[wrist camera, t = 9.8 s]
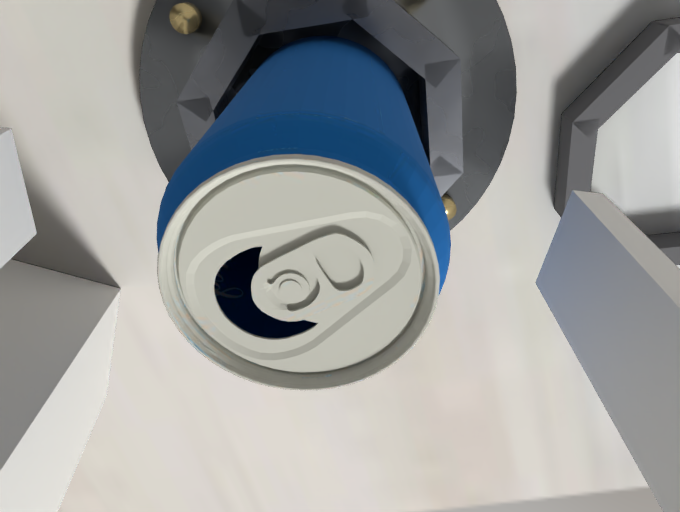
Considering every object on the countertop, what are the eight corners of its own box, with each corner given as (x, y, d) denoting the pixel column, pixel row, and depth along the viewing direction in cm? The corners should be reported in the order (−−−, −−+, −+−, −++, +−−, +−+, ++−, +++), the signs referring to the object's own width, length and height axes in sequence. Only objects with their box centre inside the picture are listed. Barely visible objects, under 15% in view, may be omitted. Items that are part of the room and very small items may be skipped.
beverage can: (213, 86, 20) (62, 234, 9) (359, -3, 18) (368, 58, 8) (299, 216, 23) (255, 436, 12) (431, 150, 21) (508, 342, 11)
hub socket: (89, 148, 22) (52, 176, 19) (273, -226, 15) (256, -264, 13) (360, 313, 26) (360, 355, 24) (590, 76, 20) (628, 96, 17)
